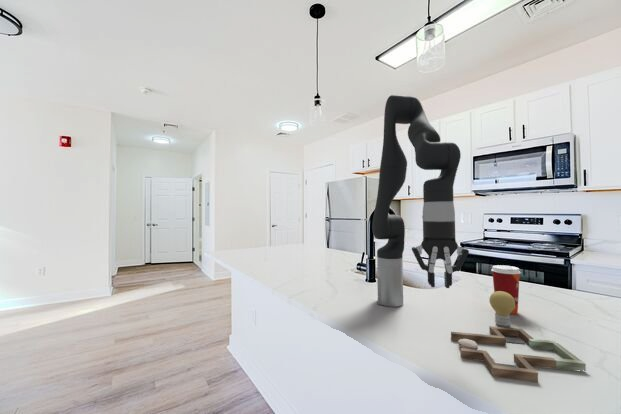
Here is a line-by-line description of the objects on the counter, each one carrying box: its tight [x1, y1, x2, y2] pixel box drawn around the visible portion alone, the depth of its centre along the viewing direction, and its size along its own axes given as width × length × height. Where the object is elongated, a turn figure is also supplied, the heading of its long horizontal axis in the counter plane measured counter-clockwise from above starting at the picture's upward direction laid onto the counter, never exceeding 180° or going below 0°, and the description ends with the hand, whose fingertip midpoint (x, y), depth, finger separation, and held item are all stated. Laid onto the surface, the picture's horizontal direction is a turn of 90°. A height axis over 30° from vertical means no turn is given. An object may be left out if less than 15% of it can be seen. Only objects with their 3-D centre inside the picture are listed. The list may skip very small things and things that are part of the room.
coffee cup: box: [491, 264, 522, 316], centre depth 93 cm, size 8×8×15 cm
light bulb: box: [489, 291, 515, 328], centre depth 82 cm, size 6×6×10 cm
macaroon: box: [457, 339, 479, 350], centre depth 68 cm, size 4×5×2 cm
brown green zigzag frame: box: [450, 325, 587, 383], centre depth 66 cm, size 24×23×2 cm
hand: (439, 286), depth 70 cm, fingers open, 3 cm apart
